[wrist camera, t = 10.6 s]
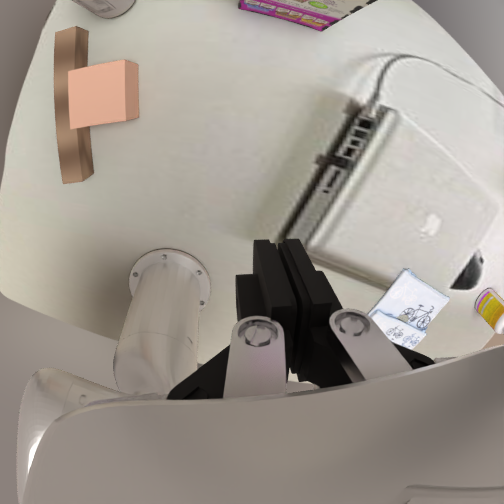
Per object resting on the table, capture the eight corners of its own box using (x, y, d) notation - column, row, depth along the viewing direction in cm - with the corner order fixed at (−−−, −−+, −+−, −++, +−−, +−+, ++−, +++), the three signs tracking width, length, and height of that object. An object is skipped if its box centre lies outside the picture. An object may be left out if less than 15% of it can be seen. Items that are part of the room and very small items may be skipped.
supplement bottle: (470, 311, 59) (499, 345, 47) (480, 288, 55) (512, 321, 44) (485, 308, 59) (513, 339, 48) (495, 286, 56) (526, 317, 45)
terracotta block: (139, 117, 34) (125, 120, 29) (89, 123, 33) (70, 129, 28) (138, 64, 30) (124, 59, 25) (88, 73, 30) (68, 71, 25)
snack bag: (337, 342, 57) (340, 350, 55) (404, 263, 49) (410, 269, 48) (394, 360, 63) (397, 367, 61) (451, 295, 55) (456, 301, 54)
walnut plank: (93, 173, 36) (82, 181, 33) (75, 175, 36) (62, 184, 32) (88, 31, 27) (76, 26, 23) (68, 36, 26) (55, 32, 23)
